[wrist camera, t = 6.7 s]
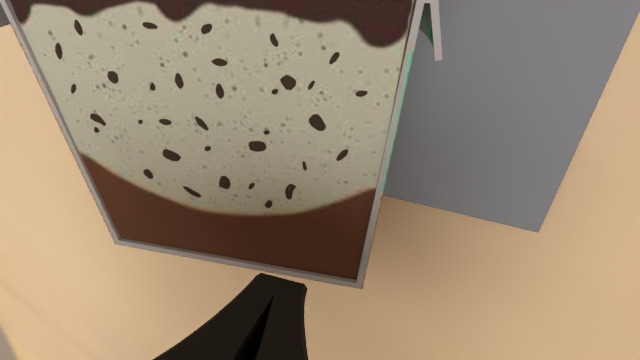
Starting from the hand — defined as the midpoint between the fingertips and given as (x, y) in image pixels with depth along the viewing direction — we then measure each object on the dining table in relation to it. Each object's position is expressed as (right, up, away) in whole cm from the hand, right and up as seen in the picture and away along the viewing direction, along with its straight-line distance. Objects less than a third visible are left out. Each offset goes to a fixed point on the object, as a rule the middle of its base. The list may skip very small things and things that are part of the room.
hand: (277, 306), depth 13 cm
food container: (-1, +2, +6) cm, 7 cm away
